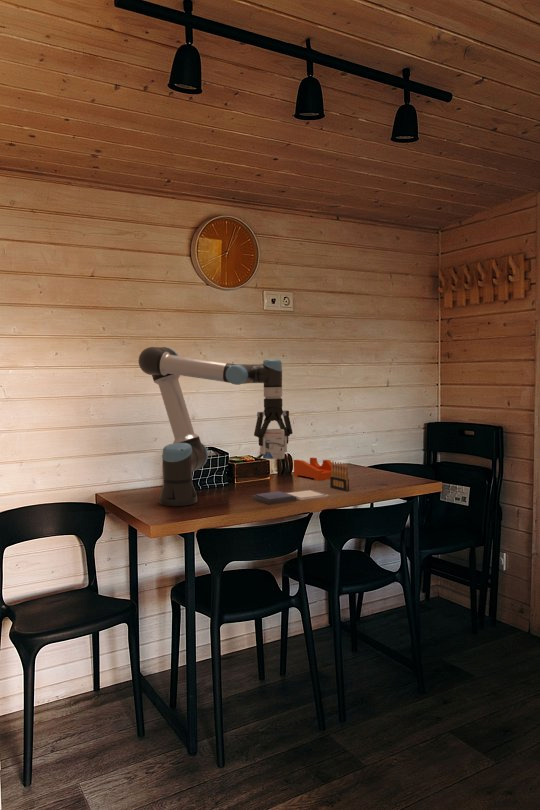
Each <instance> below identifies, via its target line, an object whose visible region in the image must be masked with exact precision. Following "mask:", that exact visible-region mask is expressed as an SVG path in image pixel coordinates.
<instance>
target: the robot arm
mask: <svg viewBox="0 0 540 810" xmlns="http://www.w3.org/2000/svg"><path fill="white" fill-rule="evenodd" d="M262 362H263V363H261V364H237V363H228V362H223V361H216V360H209V359H204V358H203V359H201V358H194V357H188V356H187V357H186V356H180V355H179V354H178V352H176V351H175V350H174V349H172V348H169V347H165V346H162V347H159V346H151V347H150V346H149V347H147V348H144V349H143V350H142V351H141V352H140V354H139V357H138V366H139V368H140V370H141V371H142V372H143V373H144V374H147V375H150V376H151V377H152V380H153V383H155V384H157V385H158V388H159V391H160V395H161V397H162V400H163V405H164V408H165V411H166V415H167V417H168V418H167V419H168V421H169V424H170V427H171V431H172V434H173V437H174V440H173V443H170V444H167V445H166V446H163V449H162V454H161V456H162V479H163V480H162V481H163V483H162V487H161V491H160V494H159V499H158V500H159V502H158V503H159V504H160V505H161V506H166V507H183V506H191V505H194V504H197V502H198V495H197V491H196V490H195V487H194V484H193V472H195V471H199V470H200V469H202V467H204V466H205V465H206V463H207V461H208V458H209V451H208V449H207V446H206V445H205V444H203V443H202V441H201V438H200V436H199V435H198V434H196V433H195V431H194V427H193V424H192V421H191V417H190V414H189V411H188V408H187V404H186V401H185V398H184V395H183V391H182V388H181V385H180V384H181V383H180V381H179V378H180V376H183V377H189V378H196V379H203V380H209V381H215V382H223V383H228V384H231V385H236V386H237V385H238V386H239V385H245V384H263V397H264V399H263V408H264V409H263V411H257V413H256V416H257V419H256V423H255V427H254V432H253V435H254V437H256V438H258V446H259V447H260V448H259V449H260V451H259V453H260V455H263V454H265V438H263V437H264V434H265V432H266V430H267V429H269V426H270V424H271V422H274V421H275V422H276V423H277V425H278V426H279V429H284V435H285V453H287V452H288V444H289V437H290V435H292V434H293V428H292V424H291V420H290V411H289V410H283V366H282V365H283V364H282V361H281V359H264V360H262ZM282 416H283V417H282Z"/></svg>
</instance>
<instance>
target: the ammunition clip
mask: <svg viewBox="0 0 540 810" xmlns="http://www.w3.org/2000/svg"><path fill="white" fill-rule="evenodd" d="M331 462H332V469H331V478H330V479H329V481H330V483H329V484H330V488H331V489H334V490H339V491H343V492H350V479H349V472H348V464H347V463H344V462H339V461H338V462H337V461H331Z"/></svg>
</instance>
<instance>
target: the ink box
mask: <svg viewBox="0 0 540 810" xmlns="http://www.w3.org/2000/svg"><path fill="white" fill-rule="evenodd" d="M263 438H265V454H262V459H264V460H265V459H267V460H269V459H271V460H272V459H273V460H274V459H275V460H283V459H285V455H286V454H285V453H286V452H285V435H284V429H280V428H267V430H266V432H265V434H264V437H263Z"/></svg>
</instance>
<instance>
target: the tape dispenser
mask: <svg viewBox="0 0 540 810" xmlns="http://www.w3.org/2000/svg"><path fill="white" fill-rule="evenodd" d="M332 462H333V461H331V460H329V459H323V460H322V464H321V465H320V464H319V462H318V459H317V457H309V462H307V461H305V460H303V459H293V476H294V477H295V478H296V477H297V478H298V477H307V478H312V479H313V480H314V481H317V482H319V481H320V480H321V481H325V480H326V479H327V480H330V478H331V469H332ZM321 481H320V482H321Z"/></svg>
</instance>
